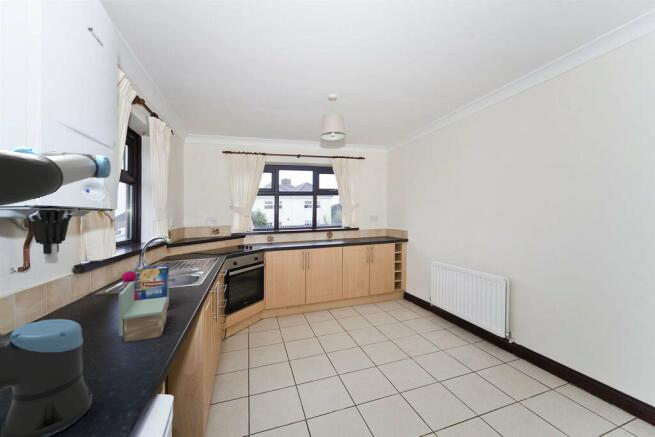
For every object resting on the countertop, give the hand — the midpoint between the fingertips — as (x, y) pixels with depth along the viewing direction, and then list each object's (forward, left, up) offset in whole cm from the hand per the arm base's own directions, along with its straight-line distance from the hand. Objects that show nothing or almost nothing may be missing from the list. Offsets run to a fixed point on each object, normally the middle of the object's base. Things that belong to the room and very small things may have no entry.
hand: (51, 262), depth 90 cm
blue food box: (+40, -10, -33) cm, 53 cm away
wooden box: (+19, -20, -32) cm, 43 cm away
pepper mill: (+44, +6, -33) cm, 55 cm away
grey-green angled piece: (+19, -20, -29) cm, 40 cm away
